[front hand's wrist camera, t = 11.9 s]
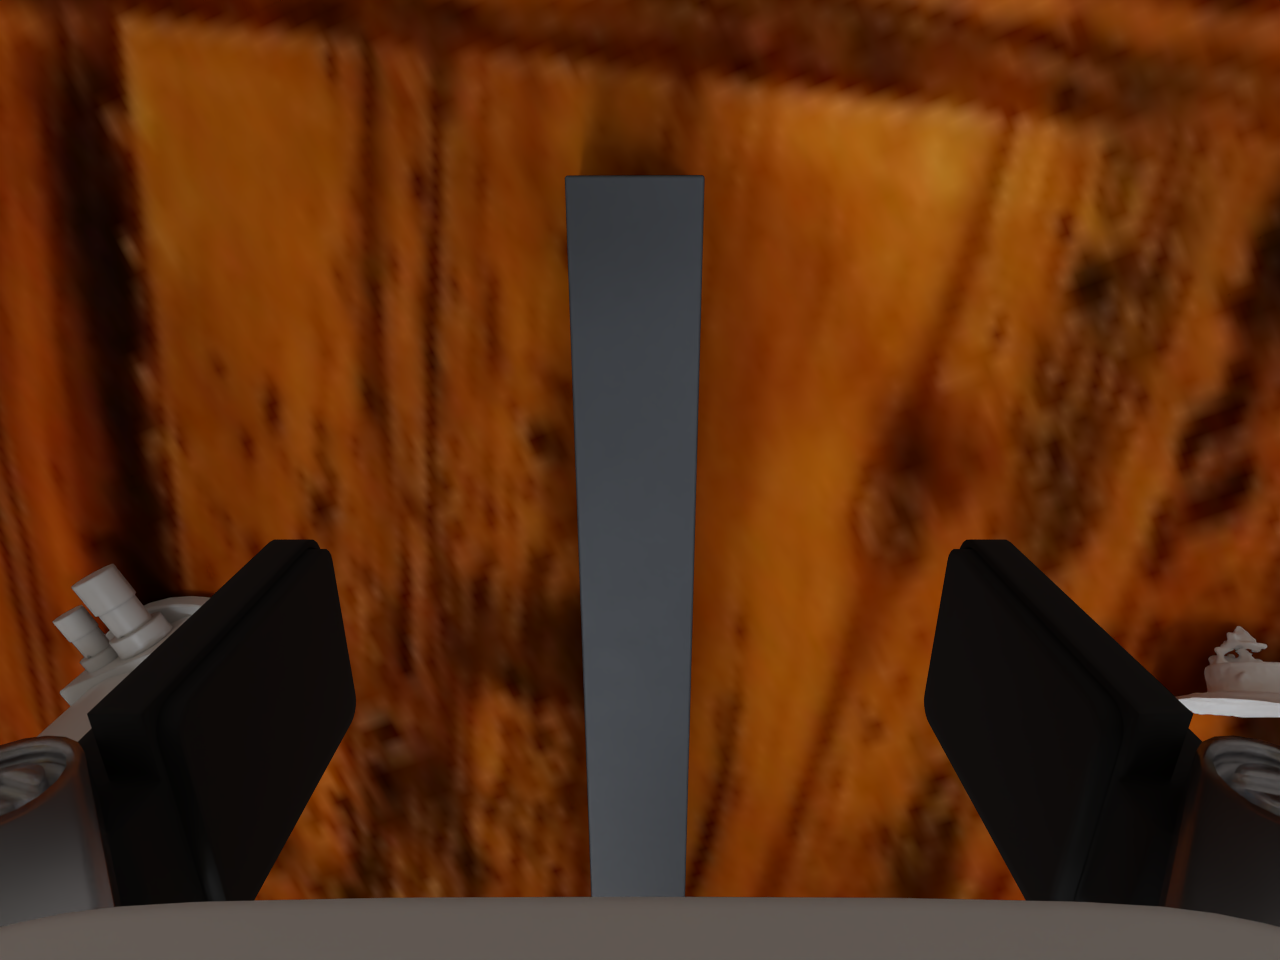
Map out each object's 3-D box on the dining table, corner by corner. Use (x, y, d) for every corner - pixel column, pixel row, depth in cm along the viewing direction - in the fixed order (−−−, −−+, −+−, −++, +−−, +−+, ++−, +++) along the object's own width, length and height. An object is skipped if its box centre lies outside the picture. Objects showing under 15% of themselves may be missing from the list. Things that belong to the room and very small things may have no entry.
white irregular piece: (1195, 617, 43) (1386, 664, 37) (1173, 704, 43) (1361, 765, 37) (1159, 603, 38) (1374, 655, 32) (1134, 702, 38) (1345, 773, 32)
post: (578, 178, 31) (564, 175, 25) (692, 178, 31) (704, 175, 25) (607, 1138, 56) (604, 1245, 50) (671, 1138, 56) (675, 1245, 50)
